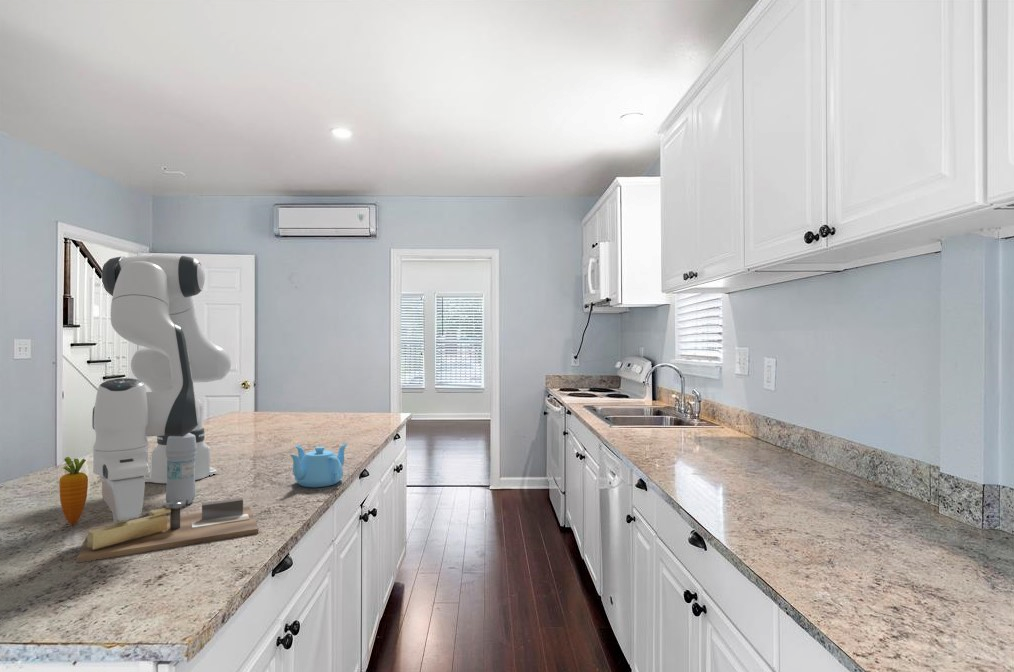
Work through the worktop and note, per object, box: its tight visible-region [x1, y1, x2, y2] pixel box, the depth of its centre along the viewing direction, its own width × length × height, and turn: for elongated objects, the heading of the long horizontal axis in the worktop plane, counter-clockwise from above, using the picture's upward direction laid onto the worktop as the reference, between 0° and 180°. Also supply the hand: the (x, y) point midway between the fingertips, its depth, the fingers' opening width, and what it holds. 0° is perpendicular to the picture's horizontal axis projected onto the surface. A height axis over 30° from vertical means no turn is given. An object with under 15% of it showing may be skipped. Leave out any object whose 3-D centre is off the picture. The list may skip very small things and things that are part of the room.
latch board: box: [77, 497, 260, 563], centre depth 113 cm, size 18×30×5 cm, turn 121°
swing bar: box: [87, 500, 186, 550], centre depth 107 cm, size 17×4×5 cm, turn 147°
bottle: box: [165, 433, 197, 505], centre depth 133 cm, size 7×7×20 cm
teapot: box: [289, 442, 349, 488], centre depth 153 cm, size 15×15×10 cm
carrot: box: [58, 456, 89, 527], centre depth 117 cm, size 5×5×15 cm
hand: (120, 530), depth 106 cm, fingers closed
